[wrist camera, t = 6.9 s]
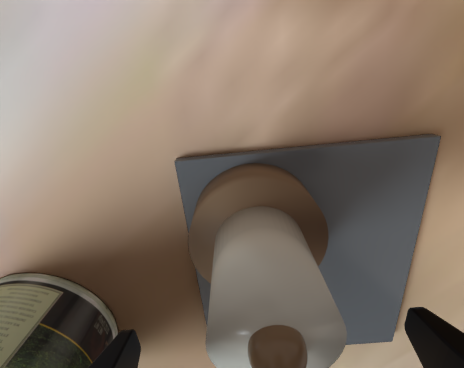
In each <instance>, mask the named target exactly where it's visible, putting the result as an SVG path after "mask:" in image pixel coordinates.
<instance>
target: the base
mask: <svg viewBox="0 0 464 368" xmlns="http://www.w3.org/2000/svg"><path fill="white" fill-rule="evenodd" d="M257 206H264V207H271V208H276V209H278V210H281V211H283V212H285V213H287V214H288V215H290V216H291V217H292V218H293V219H294V220H295V221H296V223H297V224H298V226H299V227H300V229H301V232H302V234H303V236H304V238H305V240H306V242H307V244H308V246H309V249H310V251H311V253H312V255H313V257H314V259H315V261H316V263H317V266H319V265H320V263H321V262H322V260H323V258H324V256H325V253H326V250H327V246H328V240H329V236H328V226H327V222H326V219H325V217H324V215H323V213H322V211H321V209H320V208H319V206H318V205H317V204H316V202H315V201H314V199H313V198H312V196H311V195H310V194H309V192H308V191H307V189H306V188H305V187H304V185H303V184H302V183H301V182H300V181H299V180H298V179H297V178H296V177H295V176H294V175H292V174H291V173H290V172H288V171H286V170H284V169H282V168H279V167H277V166H273V165H269V164H262V163H249V164H243V165H239V166H235V167H232V168H230V169H228V170H225V171H224V172H222V173H220V174H219V175H217V176H216V177H215V178H213V179H212V180H211V181H210V182H209V183H208V184H207V185H206V187H205V188H204V189H203V191H202V192H201V194H200V196H199V198H198V201H197V204H196V207H195V211H194V215H193V219H192V222H191V226H190V230H189V235H188V247H189V253H190V257H191V259H192V262H193V264H194V266H195V267H196V269H197V270H198V272H199V273H200V274H201V275H202V276H203V277H204V278H205V279H206V280H207V281H208V282H209V283H211V279H212V268H213V257H214V246H215V238H216V234H217V232H218V229H219V228H220V226H221V225H222V224H223V222H224V221H225V220H226V219H227V218H228V217H230V216H231V215H233V214H234V213H236V212H238V211H240V210H243V209H246V208H250V207H257Z"/></svg>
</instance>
